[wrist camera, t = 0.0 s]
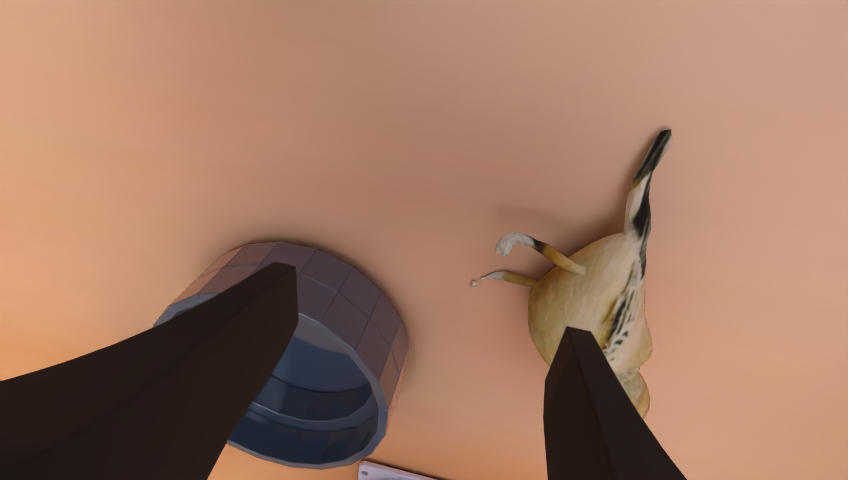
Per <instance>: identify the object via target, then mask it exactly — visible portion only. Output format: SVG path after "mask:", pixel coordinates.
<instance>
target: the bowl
mask: <svg viewBox="0 0 848 480" xmlns="http://www.w3.org/2000/svg"><path fill="white" fill-rule="evenodd" d="M273 262H280V263H284V264H289V265H293V266H296V276H297V297H298V318H299V323H298V325H297V327H296V329H295V331H294V334H293V336H292V338H291V340H290V342H289V344H288V346H287V348H286V350H285V352H284V354H283V356H282V357H281V359H280V360H279V362H278V364H277V365H276V367H275V368H274V370H273V371H272V373H271V374H270V376H269V377H268V379H267V380H266V382H265V383H264V385H263V386H262V388H261V389H260V391H259V392H258V394H257V395H256V397H255V399H254V400H253V402H252V403H251V405H250V406H249V408H248V409H247V411H246V412H245V414H244V415H243V417H242V418H241V420H240V421H239V423H238V424H237V426H236V427H235V429H234V431H233V432H232V434H231V436H230V437H229V439H228V441H227V443H226V444H228V445H230V446H233V447H235V448H237V449H239V450H241V451H244V452H246V453H248V454H250V455H252V456H255V457H257V458H259V459H263V460H266V461H270V462H274V463H277V464H281V465H285V466H288V467H295V468H308V469H320V470H321V469H329V468H336V467H342V466H348V465H351V464H353V463H355V462H357V461H359V460H361V459H363V458H365V457H367V456H368V455H370V454H372V453H373V451H374V450H375V449H376V447H377V446H378V445H379V443H380V442H381V441H382V439H383V438H384V436H385V435H386V432H387V429H388V426H389V422H390V419H391V416H392V413H393V409H394V406H395V403H396V399H397V396H398V393H399V390H400V387H401V383H402V380H403V377H404V374H405V370H406V363H407V356H408V349H409V346H408V342H407V339H406V335H405V331H404V328H403V324H402V321H401V318H400V316H399V315H398V314H397V312H396V311H395V309H394V308H393V306H392V305H391V303H390V302H389V300H388V299H387V297H386V296H385V295H384V293H383V292H382V291H381V290H380V289H379V288H378V287H377V286H375V285H374V284H373V283H372V282H371V281H370V280H368V279H367V278H366V277H365V276H364V275H362V274H361V273H360V272H359V271H358V270H357V269H355V268H354V267H353V266H351V265H349V264H347V263H345V262H343V261H341V260H339V259H337V258H335V257H333V256H331V255H329V254H327V253H325V252H323V251H321V250H319V249H318V250H317V249H314V248H310V247H305V246H300V245H296V244H291V243H286V242H280V241H278V242H264V243H251V244H246V245H243V246H241V247H239V248H237V249H235V250H233V251H230V252H228V253H226V254H224V255H222V256H221V257H219V258H218V259H217V260H216V261H215V262H214V263H213V264H212V265H211V266H210V267H209V268H208V269H207V270H206V271H205V272H204V273H203V274H202V275H201V276H199V277H198V278H197V280H195V281H194V282H193V283H192V284H191V285H190V286H189V287H188V288H187V289H186V290H185V291H184V292H183V293H182V294H181V295H179V296H178V297H177V298H176V299H175V300H174V301H173V302H172V303H171V304H170V305H169V306H168V307H167V308H166V310H165V311H164V312H163V313H162V315H161V316H160V317H159V319H158V320H157V321H156V322H155V324H154V325H153V327H156V326H158V325H160V324H162V323H164V322H166V321H168V320H170V319H172V318H174V317H176V316H178V315H180V314H182V313H184V312H186V311H188V310H190V309H191V308H193V307H195V306H197V305H199V304H201V303H203V302H205V301H207V300H209V299H210V298H212V297H214V296H216V295H217V294H219V293H221V292H223V291H224V290H226V289H228V288H230V287H231V286H233V285H235V284H237V283H238V282H240V281H242V280H243V279H245V278H247V277H248V276H250V275H252V274H254V273H255V272H257V271H259V270H260V269H262V268H264V267H266V266H267V265H269V264H271V263H273Z"/></svg>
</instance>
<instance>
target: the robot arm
mask: <svg viewBox="0 0 848 480" xmlns="http://www.w3.org/2000/svg"><path fill="white" fill-rule="evenodd" d="M298 323H299V318H298V297H297V276H296V266H293V265H289V264H284V263H280V262H273V263H271V264H269V265H267V266H266V267H264V268H262V269H260V270H259V271H257V272H255V273H254V274H252V275H250V276H248V277H247V278H245V279H243V280H242V281H240V282H238V283H237V284H235V285H233V286H231V287H230V288H228V289H226V290H224V291H223V292H221V293H219V294H217V295H216V296H214V297H212V298H210V299H209V300H207V301H205V302H203V303H201V304H199V305H197V306H195V307H193V308H191V309H190V310H188V311H186V312H184V313H182V314H180V315H178V316H176V317H174V318H172V319H170V320H168V321H166V322H164V323H162V324H160V325H158V326H156V327H153V328H151V329H149V330H147V331H145V332H142V333H140V334H137V335H135V336H133V337H130V338H128V339H126V340H123V341H121V342H118V343H116V344H113V345H111V346H108V347H105V348H102V349H100V350H97V351H94V352H91V353H89V354H86V355H83V356H80V357H78V358H75V359H72V360H69V361H67V362H64V363H60V364H57V365H54V366H51V367H48V368H45V369H41V370H38V371H35V372H31V373H28V374H25V375H21V376H18V377H14V378H11V379H7V380H3V381H0V480H207V479H208V477H209V475H210V473H211V471H212V469H213V467H214V465H215V463H216V461H217V460H218V458H219V456H220V454H221V452H222V450H223V448H224V446H225V444H226V443H227V441H228V439H229V437H230V436H231V434H232V432H233V431H234V429H235V427H236V426H237V424H238V423H239V421H240V420H241V418H242V417H243V415H244V414H245V412H246V411H247V409H248V408H249V406H250V405H251V403H252V402H253V400H254V399H255V397H256V395H257V394H258V392H259V391H260V389H261V388H262V386H263V385H264V383H265V382H266V380H267V379H268V377H269V376H270V374H271V373H272V371H273V370H274V368H275V367H276V365H277V364H278V362H279V360H280V359H281V357H282V356H283V354H284V352H285V350H286V348H287V346H288V344H289V342H290V340H291V338H292V336H293V334H294V331H295V329H296V327H297V325H298ZM543 421H544V435H545V449H546V461H547V474H548V480H687V479H686V478H685V477H684V475H683V474H682V473H681V471H680V470H679V469H678V468H677V466H676V465H675V464H674V463H673V461H672V460H671V459H670V457H669V456H668V455H667V453H666V452H665V451H664V449H663V448H662V447H661V445H660V444H659V442H658V441H657V439H656V438H655V436H654V435H653V434H652V432H651V431H650V429H649V428H648V426H647V425H646V423H645V422H644V420H643V419H642V417H641V416H640V414H639V413H638V411H637V409H636V408H635V406H634V405H633V403H632V401H631V400H630V398H629V396H628V395H627V393H626V392H625V390H624V388H623V387H622V385H621V383H620V382H619V380H618V378H617V376H616V375H615V373H614V371H613V369H612V368H611V366H610V364H609V362H608V361H607V359H606V357H605V355H604V353H603V352H602V350H601V348H600V346H599V344H598V342H597V341H596V339H595V337H594V335H593V334H592V332H591V331H587V330H583V329H578V328H574V327H569V326H566V328H565V331H564V333H563V336H562V338H561V341H560V343H559V346H558V349H557V351H556V354H555V356H554V359H553V361H552V364H551V366H550V369H549V372H548V374H547V377H546V379H545V391H544V414H543ZM358 480H436V479H433V478H429V477H425V476H421V475H418V474H414V473H410V472H406V471H402V470H399V469H395V468H391V467H387V466H384V465H380V464H376V463H372V462H368V461H362V462H360V465H359V470H358Z"/></svg>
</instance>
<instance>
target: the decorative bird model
mask: <svg viewBox="0 0 848 480" xmlns="http://www.w3.org/2000/svg"><path fill="white" fill-rule="evenodd" d="M671 140H672V134H671V129H670V130H665V131H661V132H660V134H659V135H658V136H657V138H656V139H655V140H654V142H653V144H652V145H651V147H650V149H649V151H648V153H647V155H646V157H645V159H644V160H643V162H642V164H641V166H640V168H639V169H638V171H637V172H636V174H635V175H634V177H633V183H632V186H631V188H630V192H629V196H628V200H627V205H626V213H625V223H624V232H622V233H616V234H612V235H610V236H607V237H604V238H602V239H600V240H597V241H595V242H593V243H591V244H589V245H587V246H585V247H584V248H583V249H581V250H579V251H578V252H576V253H574V254H573V255H571V256H570V257H568V258H567V257H565V256H564V255H562V254H561V253H559V252H558V251H557V250H555V249H554V248H552V247H551V246H549V245H548V244H546V243H543V242H541V241H538V240H535V239H534V238H532V237H530V236H528V235H525V234H523V233H508V234H506V235H505V236H503V237H502V238H501V239H500V240H499V242H498V243H497V244H496V248H495V252H501V253H502V257H504V256H507V255H509V253H510V250H511V247H512V246H513V245H514V244H516V243H517V242H518V243H521V244H523V245H526V246H529V247H532V248H533V249H535V250H536V251H538V252H539V253H541V254H542V255H543V256H545V257H546V258H548V259H549V260H550V261H552V262H553V263H555V264H556V265H558V266H556V267H555V268H554V269H552V270H551V271H549V272H548V273H547V274H546V275H545V276H544V277H543V278H542V279H541V280H540V281H539V282H537V281H535V280H533V279H531V278H528V277H524V276H520V275H516V274H513V273H510V272H506V271H505V272H494V273H492V274H490V275H488V276H485V277H483V278H481V279H480V282H481V281H482V280H484V279H490V278H493V279H500V280H505V281H508V282H512V283H516V284H522V285H528V286H532V287H533V288H532V289H531V290H530V297H529V305H528V323H529V331H530V335H531V338H532V341H533V343H534V345H535V346H536V348H537V350H538V351H539V353H540V355H541V356H542V358H543V359H544V361H545V362H546V363H547V364H548V365H549V366H551V364H552V361H553V359H554V356H555V354H556V351H557V349H558V346H559V343H560V341H561V338H562V336H563V333H564V331H565V328H566V326H569V327H574V328H578V329H583V330H587V331H591V332H592V334H593V335H594V337H595V339H596V341H597V342H598V344H599V346H600V348H601V350H602V352H603V353H604V355H605V357H606V359H607V361H608V362H609V364H610V366H611V368H612V369H613V371H614V373H615V375H616V376H617V378H618V380H619V382H620V383H621V385H622V387H623V388H624V390H625V392H626V393H627V395H628V396H629V398H630V400H631V401H632V403H633V405H634V406H635V408H636V409H637V411H638V413H639V414H640V416H641V417H642V419H644V418H645V416H646V415H647V413H648V411H649V406H650V396H649V392H648V388H647V385H646V383H645V381H644V379H643V377H642V376H641V374H640V372H639V369H640V366H641V365H642V364H643V363H644V362H646V361H647V360H648V359H649V358H650V356H651V354H652V338H651V335H650V332H649V328H648V325H647V321H646V317H645V312H644V298H645V295H644V279H645V267H646V254H645V252H646V243H647V239H648V236H649V233H650V230H651V213H650V204H649V188H650V182H651V177H652V172H653V170H654V169H655V167H656V166H657V164H658V163H659V161H660V160H661V158H662V157H663V156H664V154H665V153H666V151H667V149H668V146H669V143H670V141H671ZM470 286H471V287H473V286H476V281H472V282H471V285H470Z"/></svg>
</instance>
